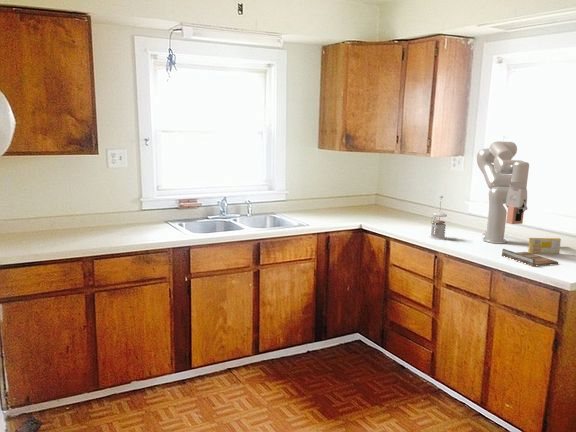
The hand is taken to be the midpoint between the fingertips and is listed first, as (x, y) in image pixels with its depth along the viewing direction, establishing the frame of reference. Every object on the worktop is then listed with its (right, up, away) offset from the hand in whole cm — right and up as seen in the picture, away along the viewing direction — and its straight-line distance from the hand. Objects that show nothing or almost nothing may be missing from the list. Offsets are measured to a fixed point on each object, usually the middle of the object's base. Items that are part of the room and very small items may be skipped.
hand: (514, 219), depth 265 cm
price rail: (-6, -19, -17) cm, 26 cm away
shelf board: (+1, -20, -15) cm, 25 cm away
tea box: (0, -2, 0) cm, 2 cm away
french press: (-32, -11, +30) cm, 45 cm away
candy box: (+15, -18, 0) cm, 24 cm away
